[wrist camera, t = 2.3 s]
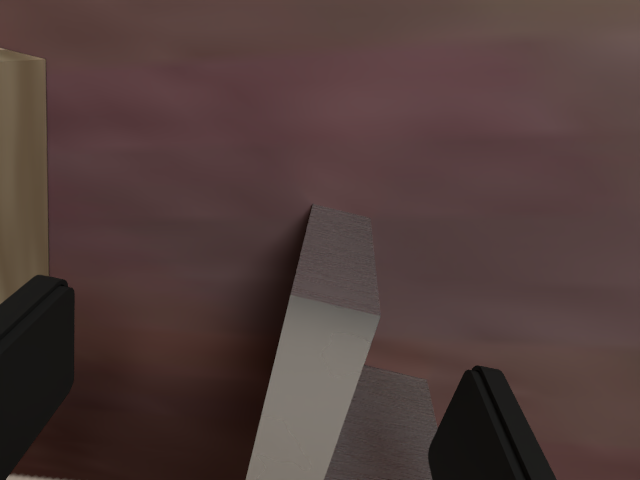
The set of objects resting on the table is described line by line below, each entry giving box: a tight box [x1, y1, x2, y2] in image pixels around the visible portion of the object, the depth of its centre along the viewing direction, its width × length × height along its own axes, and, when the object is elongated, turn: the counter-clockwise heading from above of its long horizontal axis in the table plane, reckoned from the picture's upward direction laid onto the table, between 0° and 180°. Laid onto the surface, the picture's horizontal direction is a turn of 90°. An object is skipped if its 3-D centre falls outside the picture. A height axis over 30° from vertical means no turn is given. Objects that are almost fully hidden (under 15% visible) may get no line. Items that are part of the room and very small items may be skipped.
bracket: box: [246, 204, 437, 480], centre depth 14 cm, size 8×6×6 cm
